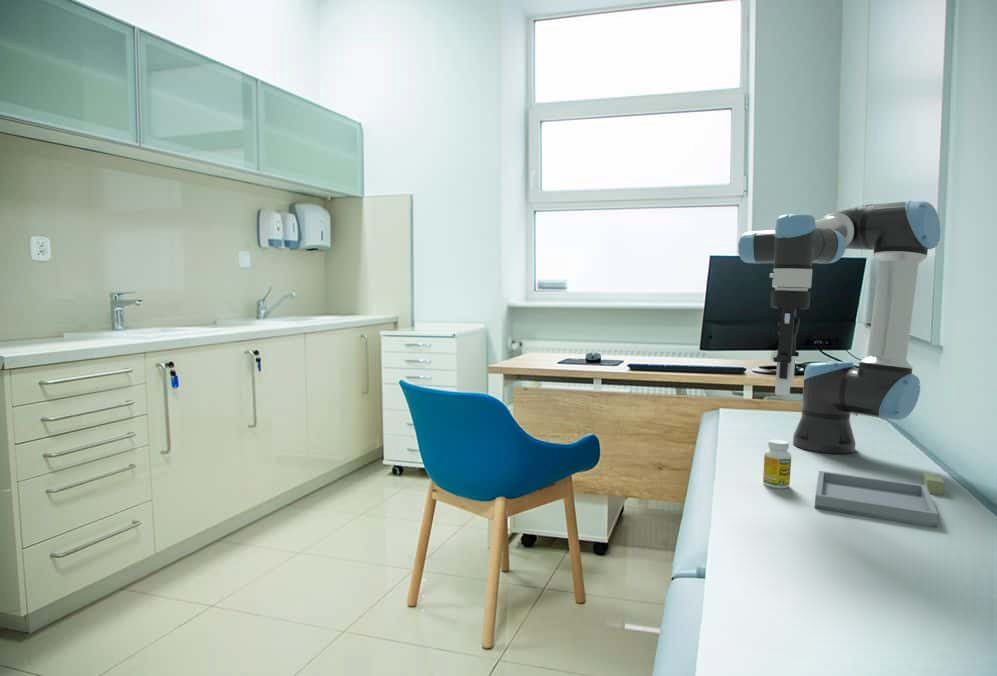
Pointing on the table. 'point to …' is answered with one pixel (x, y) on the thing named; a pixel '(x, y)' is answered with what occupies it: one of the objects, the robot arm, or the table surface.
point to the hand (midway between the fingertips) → (784, 390)
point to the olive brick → (933, 483)
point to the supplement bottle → (777, 465)
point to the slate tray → (876, 498)
